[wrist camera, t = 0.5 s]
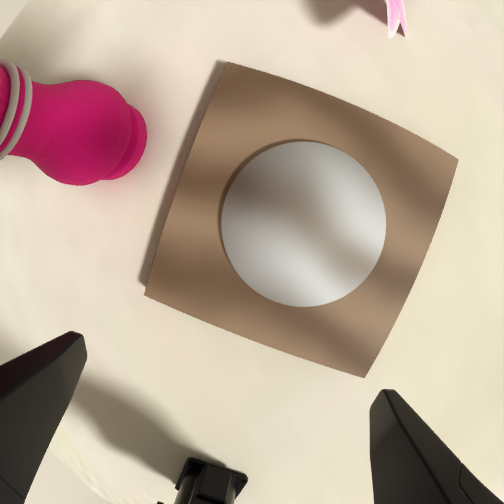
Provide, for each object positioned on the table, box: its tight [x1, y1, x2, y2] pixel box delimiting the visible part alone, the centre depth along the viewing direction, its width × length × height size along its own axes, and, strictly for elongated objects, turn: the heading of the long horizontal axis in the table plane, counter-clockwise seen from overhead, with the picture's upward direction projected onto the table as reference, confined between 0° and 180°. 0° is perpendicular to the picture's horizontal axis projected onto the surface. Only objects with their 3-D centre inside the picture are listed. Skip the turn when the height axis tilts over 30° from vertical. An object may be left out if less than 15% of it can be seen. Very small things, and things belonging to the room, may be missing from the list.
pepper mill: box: [0, 59, 147, 186], centre depth 13 cm, size 7×7×20 cm
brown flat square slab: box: [144, 62, 458, 378], centre depth 22 cm, size 18×18×2 cm
